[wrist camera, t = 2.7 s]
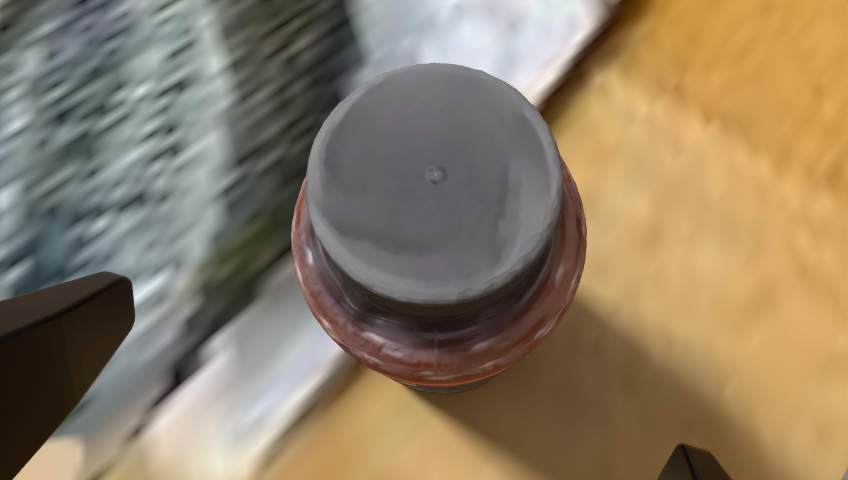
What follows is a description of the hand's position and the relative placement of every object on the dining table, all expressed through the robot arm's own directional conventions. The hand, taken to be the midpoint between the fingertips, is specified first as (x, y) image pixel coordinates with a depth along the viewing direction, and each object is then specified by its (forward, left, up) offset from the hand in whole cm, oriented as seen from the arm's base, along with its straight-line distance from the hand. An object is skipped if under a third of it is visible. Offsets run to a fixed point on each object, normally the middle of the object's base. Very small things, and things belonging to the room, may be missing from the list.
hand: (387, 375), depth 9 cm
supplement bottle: (+3, +1, -10) cm, 11 cm away
